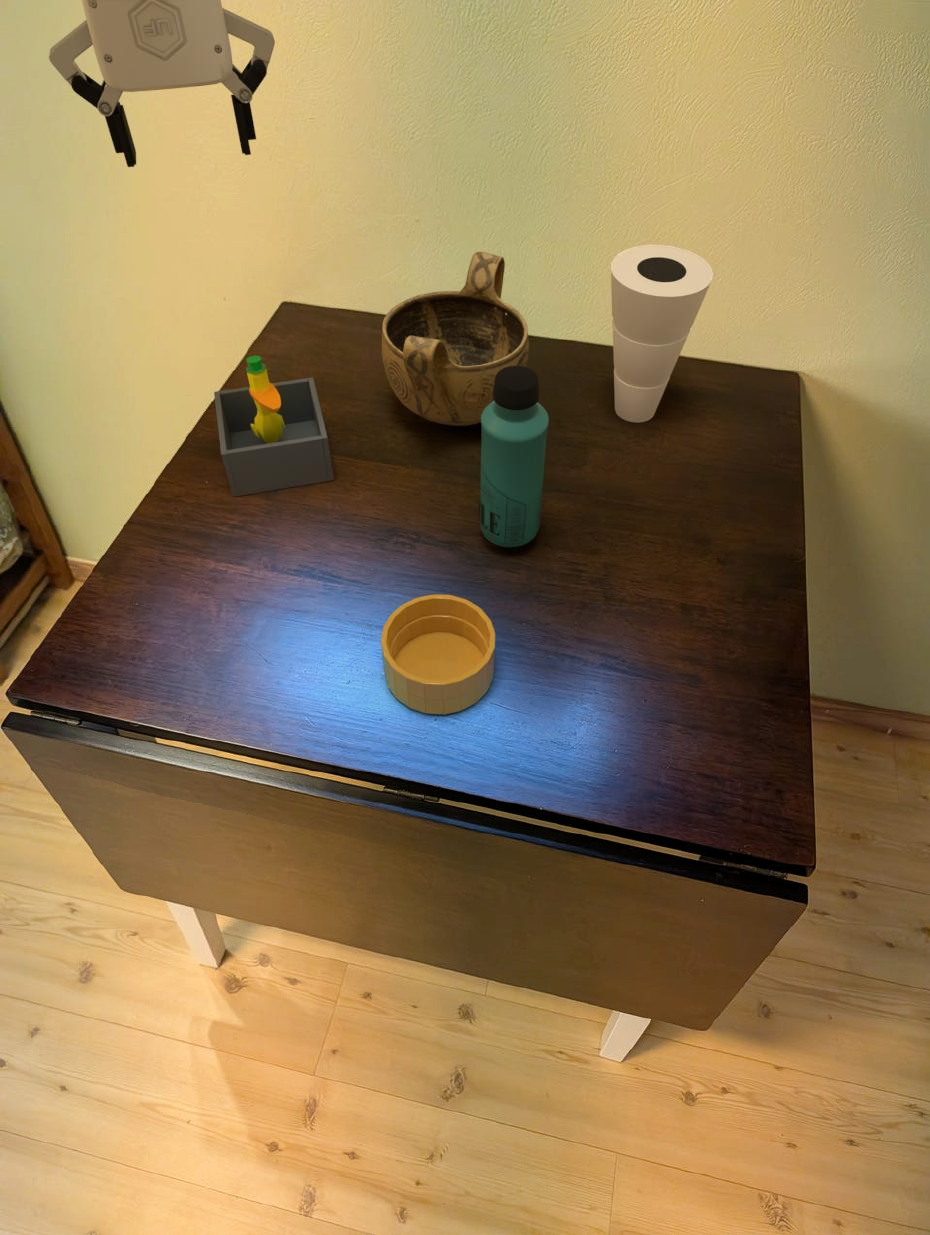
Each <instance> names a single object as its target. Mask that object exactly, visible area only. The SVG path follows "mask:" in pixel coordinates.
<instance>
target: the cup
mask: <svg viewBox="0 0 930 1235" xmlns="http://www.w3.org/2000/svg"><path fill="white" fill-rule="evenodd" d="M713 278H714V271H713V268H712V266H711V265H710V263H709V262H708V261H707V260H706V259H704V258H703V257H702V256H700V255H698V254H697V253H695V252H693V251H690V250H689V249H685V248H683V247H677V246H673V245H667V244H641V245H635V246H632V247H629V248H627V249H624V250H622V251H621V252H619V253H617V254H616V255H615V256H614V257H613V259H612V261H611V263H610V290H611V291H610V293H611V317H612V349H613V350H612V351H613V352H612V353H613V366H614V368H613V387H614V388H613V392H614V393H613V395H614V412H615V414H616V415H617V417H619V418H620V419H622V420H624V421H626V422H629V423H645V422H648V421H650V420H651V419H652V418H654V416H655V414H656V412H657V409H658V407H659V405H660V402H661V400H662V397H663V395H664V393H665V390H666V388H667V386H668V383H669V381H670V378H671V375H672V373H673V371H674V368H675V366H676V365H677V362H678V360H679V357H680V355H681V354H682V353H681V352H682V350H683V348H684V346H685V343H686V341H687V340H688V337H689V335H690V332H691V328H693V325H694V323H695V322H696V318H697V316H698V314H699V311H700V309H701V306H702V305H703V302H704V300H705V297H706V296H707V292H708V290H709V288H710V285H711V284H712V281H713Z"/></svg>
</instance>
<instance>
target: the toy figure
mask: <svg viewBox="0 0 930 1235" xmlns="http://www.w3.org/2000/svg"><path fill="white" fill-rule="evenodd" d="M246 364H247V366H246V368H245V371H246V375H247V380H248V384H249V387H250V388H249V392H250V394H251V396H252V397H253V399H254V401H255V404H256V407H257V409H258V410H257V415H256V417H255V418H254V419H255V425H254V424H250V425H251V428H252V431H253V433H254V434H255V436H257V437H258V438H261V439H262V440H263V441H265V442H266V443H267V444H269V443H276V442H279V441H278V440H279V439H280V437H281V435H282V434H283V428H282V426H283V427H284V428H285V426H284V421H283V418H282V416H281V415H279V414H277V413H276V412H278V410H279V409H280V406H281V399H280V395H279V393H278V391H277V389H276V388H275V387H274V385H273V384H272V383H273V382H270V379H269V375H268V370H267V365H266V364H265V363H262V357H261V356H260V355H250V356H249V357H247V358H246Z"/></svg>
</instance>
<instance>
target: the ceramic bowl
mask: <svg viewBox="0 0 930 1235" xmlns="http://www.w3.org/2000/svg"><path fill="white" fill-rule="evenodd" d="M505 267H506V263H505V258H504V256H500V255H496V254H494V253H493V254H492V253H489V252H486V251H475V252H474V253H473V255H472V257H471V260H470V263H469V266H468V270H467V274H466V279H465V285H463V287H462V288H461V290H444V291H443V290H441V291H432V292H427V293H423V294H418V295H415V296H412V297H410V298H407V299H405V300H403V301H401V302H399V303H397V304H396V305H394V306H393V307H392V308H390V310H389V311H388V312H387V313H386V314H385V316H384V318H383V321H382V332H381V357H382V363H383V367H384V372H385V375H386V378H387V380H388V383H389V386H390V388H391V390H392V391H393V393H394V395H395V396H396V397H397V399H398V400H399V401H400V402H401V404H403V406H405V407H406V408H407V409H408V410H409V411H410V412H412V413H414V414H416V415H417V416H419V417H421V418H423V419H424V420H427V421H429V422H432V423H435V424H440V425H444V426H450V427H467V426H473V425H477V424H481V415H482V413H483V410H484V409H485V408H486V407H487V406H488V405H489V404H490V403H491V402H493V401H494V399H493V388H494V381H495V376H496V374H497V373H498V372H499V371H500V370H501V369H503V368H505V367H509V366H524V367H527V368H528V362H529V355H530V354H529V353H530V351H529V350H530V342H529V328H528V323H527V321H526V319H525V318H524V316H523V315H522V314H521V312H520V311H518V310H517V309H516V308H515V307H514V306H512V305H511V304H508V303H507V302H504V301H503V300H502V293H503V284H504V275H505V269H506V268H505Z"/></svg>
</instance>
